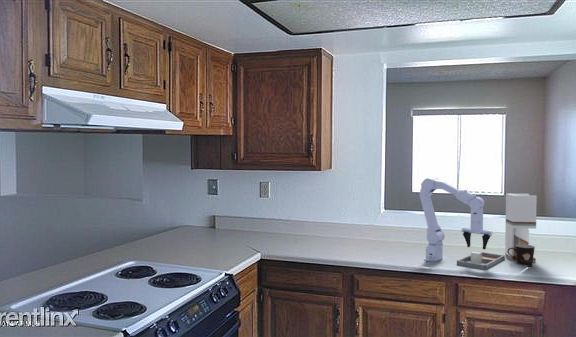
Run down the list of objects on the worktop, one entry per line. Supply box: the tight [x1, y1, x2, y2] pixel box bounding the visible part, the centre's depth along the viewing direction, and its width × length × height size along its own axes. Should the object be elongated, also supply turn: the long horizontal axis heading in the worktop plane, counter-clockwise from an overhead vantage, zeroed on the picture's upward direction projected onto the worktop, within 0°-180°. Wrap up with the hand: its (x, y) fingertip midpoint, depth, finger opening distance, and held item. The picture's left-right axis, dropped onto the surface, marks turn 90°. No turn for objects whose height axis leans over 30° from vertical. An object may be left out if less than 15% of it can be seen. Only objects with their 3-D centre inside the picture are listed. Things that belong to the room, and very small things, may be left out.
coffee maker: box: [504, 193, 538, 263], centre depth 232 cm, size 11×11×35 cm
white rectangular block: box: [470, 251, 482, 265], centre depth 219 cm, size 4×4×6 cm
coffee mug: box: [507, 244, 536, 268], centre depth 221 cm, size 12×9×10 cm
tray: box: [456, 251, 506, 271], centre depth 224 cm, size 28×14×3 cm, turn 136°
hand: (476, 247), depth 219 cm, fingers open, 7 cm apart
